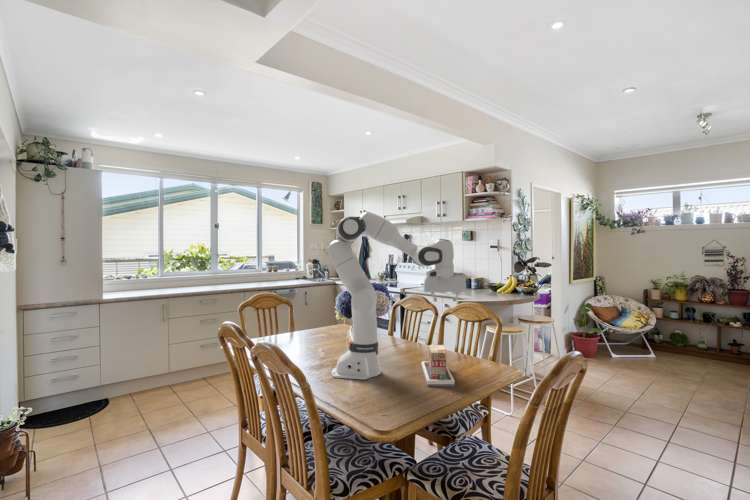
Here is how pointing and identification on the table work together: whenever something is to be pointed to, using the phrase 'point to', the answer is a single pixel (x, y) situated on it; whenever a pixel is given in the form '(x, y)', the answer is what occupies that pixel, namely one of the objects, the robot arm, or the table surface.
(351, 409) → the table surface
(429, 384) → the base plate
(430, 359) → the printed food box
